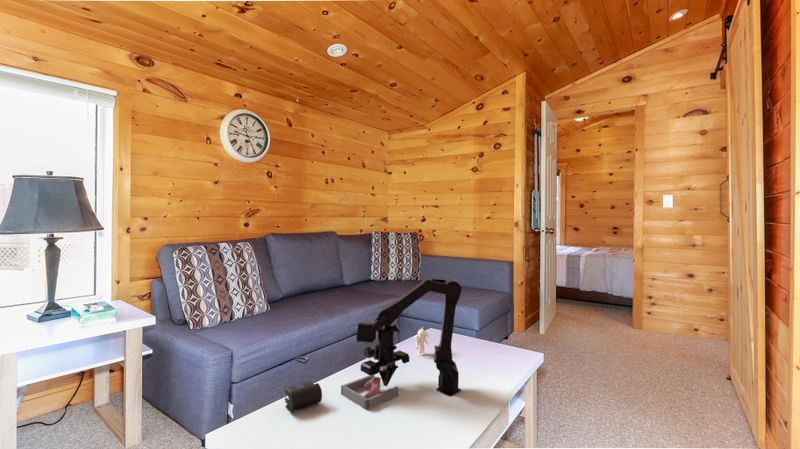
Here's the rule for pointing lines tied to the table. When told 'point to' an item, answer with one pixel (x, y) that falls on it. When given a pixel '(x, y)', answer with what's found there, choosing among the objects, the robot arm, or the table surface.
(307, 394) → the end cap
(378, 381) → the pink curved piece
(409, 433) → the table surface
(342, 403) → the table surface
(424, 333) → the flower shoulder figurine
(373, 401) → the sorting bay
